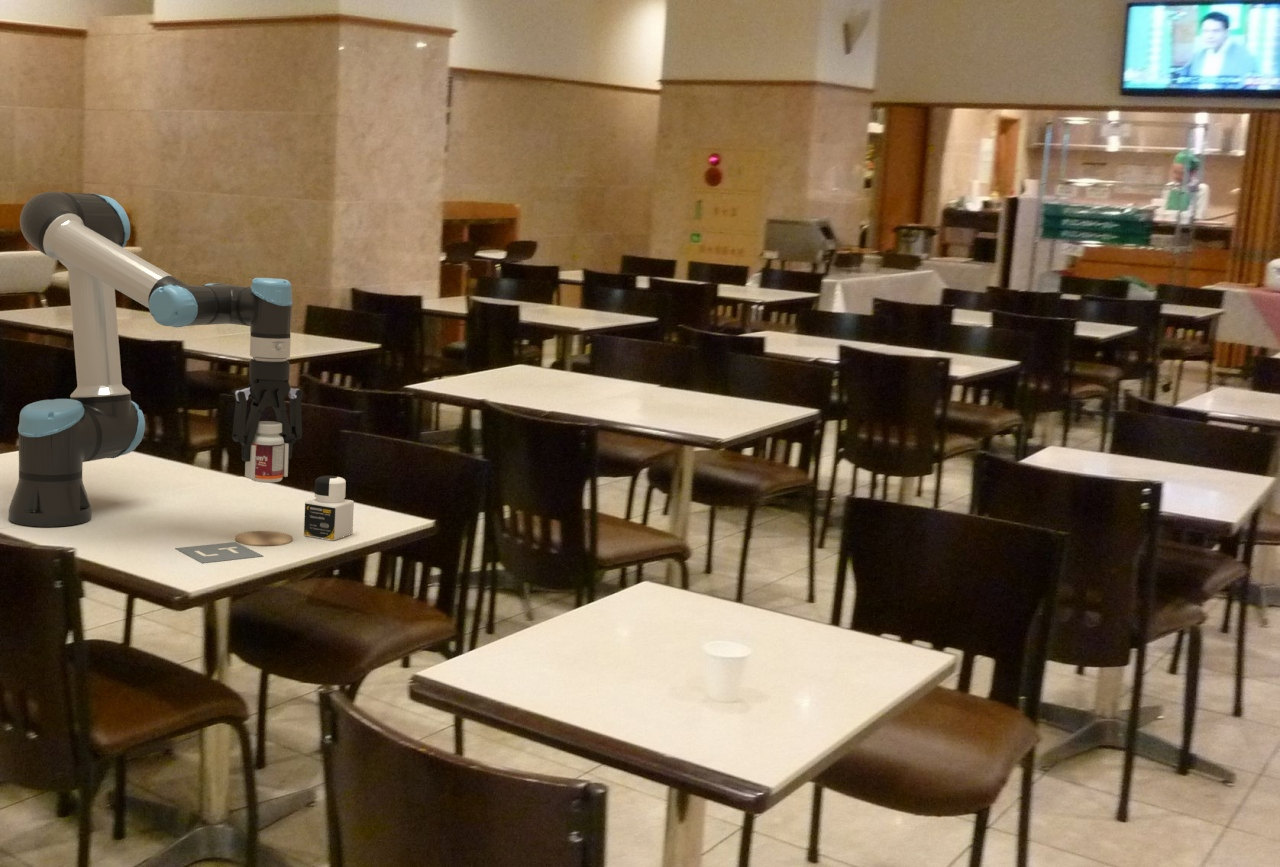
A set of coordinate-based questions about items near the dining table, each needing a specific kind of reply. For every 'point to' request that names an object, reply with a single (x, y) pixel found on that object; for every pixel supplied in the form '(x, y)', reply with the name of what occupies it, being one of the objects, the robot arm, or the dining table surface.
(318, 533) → the medicine bottle
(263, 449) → the pill bottle
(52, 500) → the robot arm
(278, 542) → the coaster
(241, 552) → the tile
